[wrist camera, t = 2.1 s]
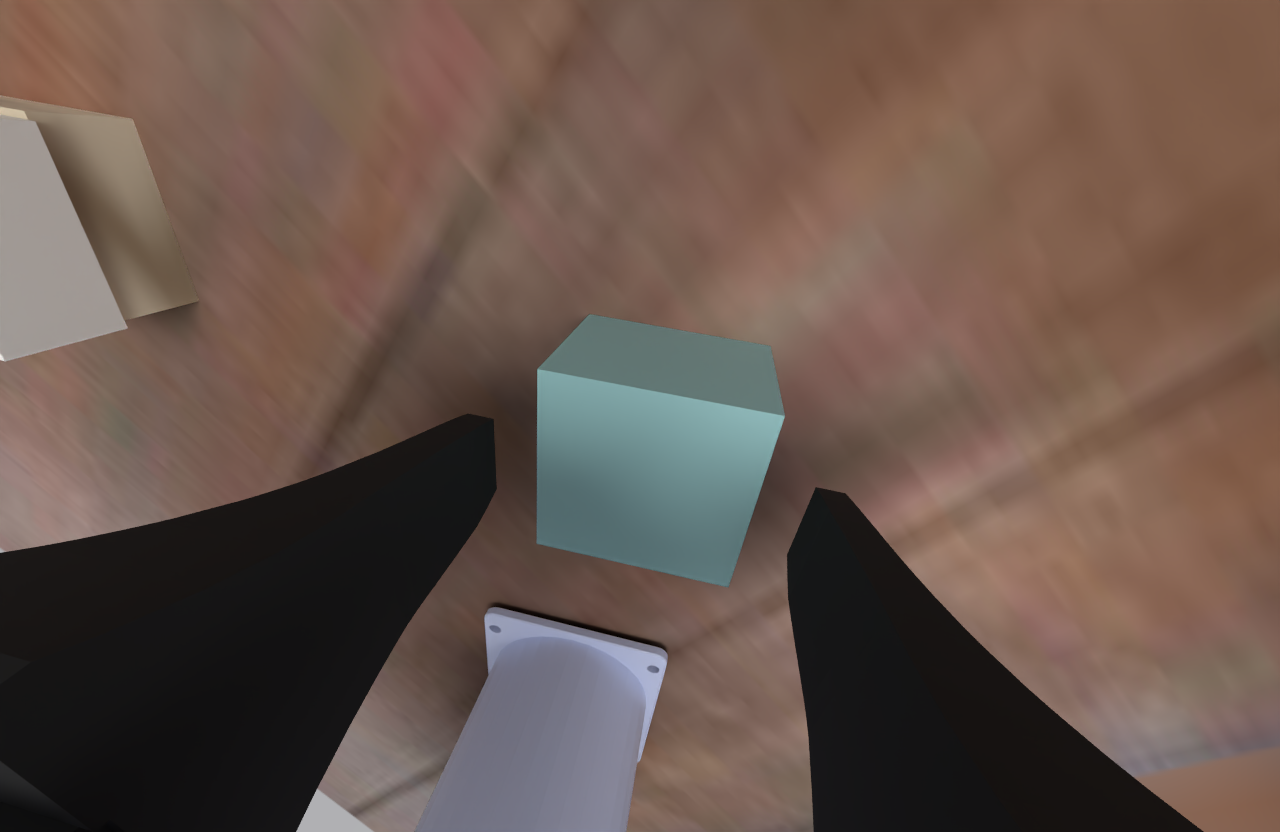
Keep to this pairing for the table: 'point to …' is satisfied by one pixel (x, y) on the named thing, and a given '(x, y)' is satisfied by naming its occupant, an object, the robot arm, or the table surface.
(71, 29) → the table surface
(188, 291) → the maple brick
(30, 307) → the white brick
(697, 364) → the teal brick
